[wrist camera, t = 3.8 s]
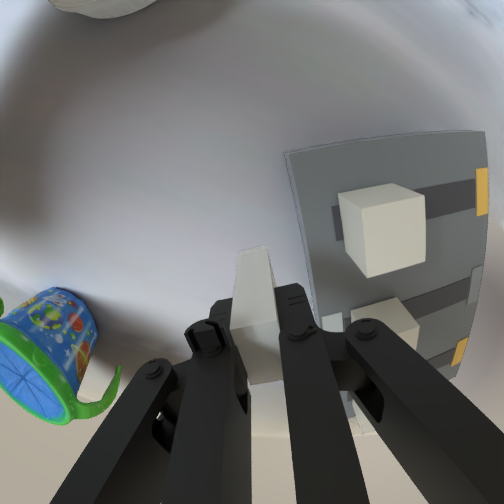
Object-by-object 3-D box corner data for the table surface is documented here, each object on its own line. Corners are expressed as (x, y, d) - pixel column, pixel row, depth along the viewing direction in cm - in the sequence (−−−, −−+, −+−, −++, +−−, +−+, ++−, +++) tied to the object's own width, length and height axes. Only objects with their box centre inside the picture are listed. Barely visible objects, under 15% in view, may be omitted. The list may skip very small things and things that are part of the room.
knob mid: (352, 347, 22) (366, 380, 18) (350, 310, 20) (368, 343, 17) (394, 334, 21) (413, 364, 18) (396, 296, 20) (419, 325, 16)
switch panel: (326, 407, 29) (330, 424, 26) (283, 152, 18) (289, 154, 16) (447, 364, 27) (456, 377, 25) (466, 130, 17) (485, 131, 15)
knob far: (352, 405, 25) (361, 434, 21) (352, 383, 24) (364, 414, 20) (386, 393, 25) (398, 421, 21) (390, 371, 23) (405, 400, 20)
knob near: (345, 251, 18) (367, 278, 15) (337, 193, 17) (361, 208, 13) (396, 238, 18) (425, 261, 14) (391, 182, 17) (424, 195, 13)
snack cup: (16, 313, 24) (-30, 365, 14) (19, 240, 20) (-50, 287, 11) (123, 380, 27) (95, 452, 17) (148, 318, 23) (108, 406, 14)
